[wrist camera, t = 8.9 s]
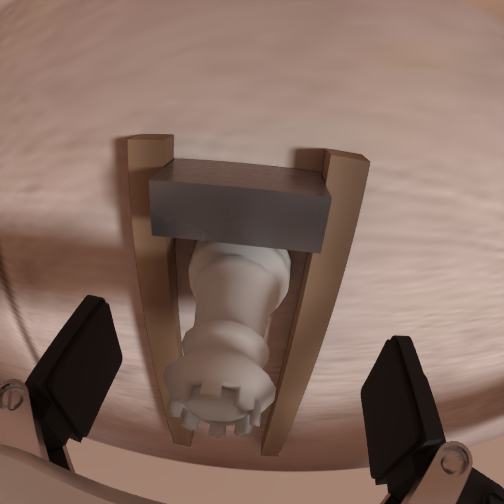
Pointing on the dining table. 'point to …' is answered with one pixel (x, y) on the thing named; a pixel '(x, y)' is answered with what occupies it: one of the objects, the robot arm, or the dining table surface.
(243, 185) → the end stop
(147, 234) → the guide track
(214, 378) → the rook chess piece
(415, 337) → the dining table surface
